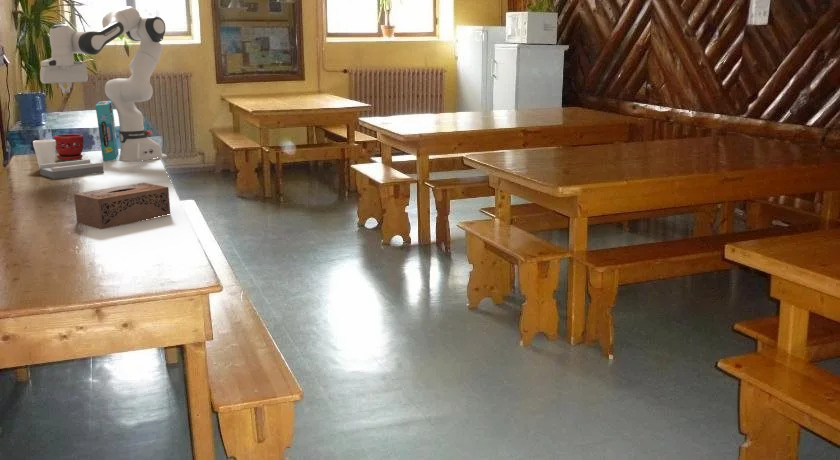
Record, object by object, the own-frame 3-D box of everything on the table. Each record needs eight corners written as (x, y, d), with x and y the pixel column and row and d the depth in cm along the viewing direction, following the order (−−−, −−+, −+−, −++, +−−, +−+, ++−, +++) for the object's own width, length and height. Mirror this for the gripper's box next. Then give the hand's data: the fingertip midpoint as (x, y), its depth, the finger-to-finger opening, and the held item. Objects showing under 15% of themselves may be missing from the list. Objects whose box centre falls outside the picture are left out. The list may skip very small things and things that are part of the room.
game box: (105, 155, 411) (98, 101, 404) (119, 154, 413) (111, 100, 406) (102, 161, 392) (94, 104, 385) (116, 159, 394) (108, 103, 387)
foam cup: (62, 167, 373) (59, 139, 369) (51, 171, 364) (48, 142, 360) (43, 167, 373) (39, 139, 370) (31, 170, 364) (28, 142, 361)
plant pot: (78, 161, 391) (76, 136, 388) (51, 161, 391) (48, 136, 388) (89, 157, 404) (87, 133, 401) (63, 157, 404) (61, 133, 401)
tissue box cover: (146, 210, 285) (143, 182, 283) (170, 215, 276) (168, 187, 274) (77, 223, 266) (73, 193, 263) (101, 230, 257) (97, 199, 254)
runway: (90, 168, 369) (89, 159, 368) (103, 172, 360) (102, 162, 359) (40, 174, 354) (39, 164, 353) (53, 178, 345) (52, 168, 343)
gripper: (83, 60, 370) (85, 91, 373) (36, 62, 356) (40, 93, 359) (88, 61, 366) (91, 92, 369) (42, 62, 351) (46, 94, 355)
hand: (66, 93), depth 364 cm, fingers closed
